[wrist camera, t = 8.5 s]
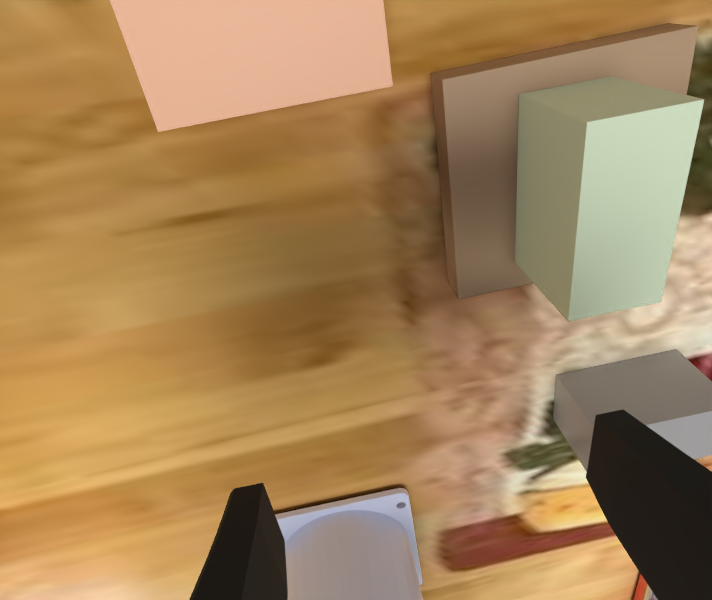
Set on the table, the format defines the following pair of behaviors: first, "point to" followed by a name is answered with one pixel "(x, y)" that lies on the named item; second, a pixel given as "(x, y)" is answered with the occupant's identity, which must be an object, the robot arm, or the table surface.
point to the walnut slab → (500, 137)
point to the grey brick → (638, 401)
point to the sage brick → (601, 191)
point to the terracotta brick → (251, 54)
